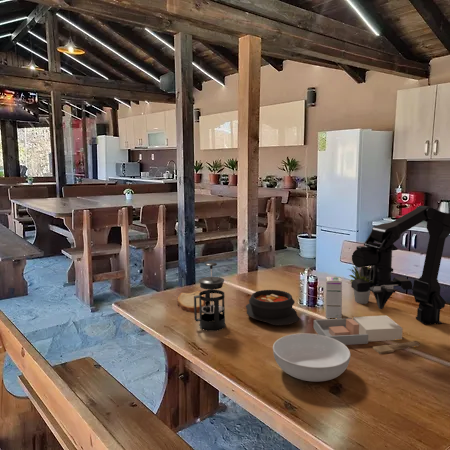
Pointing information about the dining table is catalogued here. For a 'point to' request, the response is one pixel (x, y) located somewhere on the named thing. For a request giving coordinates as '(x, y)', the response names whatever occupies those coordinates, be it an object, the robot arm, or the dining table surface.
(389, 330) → the white flat box
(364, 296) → the house plant
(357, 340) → the tray
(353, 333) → the tile
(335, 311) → the syrup box
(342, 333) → the tile
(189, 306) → the bread slice
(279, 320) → the casserole
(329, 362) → the serving bowl
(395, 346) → the wooden spatula
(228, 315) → the dining table surface
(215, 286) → the french press
